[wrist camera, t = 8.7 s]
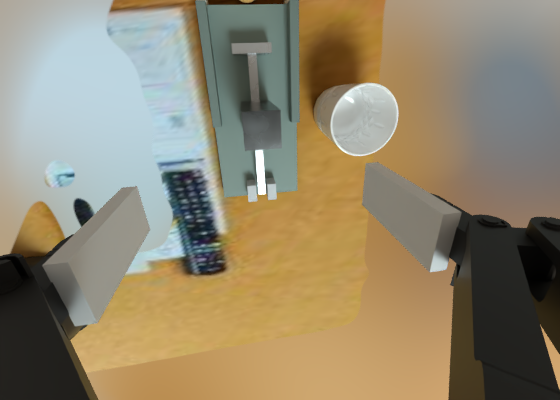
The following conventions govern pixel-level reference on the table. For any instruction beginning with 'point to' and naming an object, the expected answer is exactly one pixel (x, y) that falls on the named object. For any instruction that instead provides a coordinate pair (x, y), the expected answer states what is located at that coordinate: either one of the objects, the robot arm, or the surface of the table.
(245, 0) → the ball
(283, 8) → the grey-green piece
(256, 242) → the table surface
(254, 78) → the grey t-handle tool
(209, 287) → the table surface
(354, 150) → the white cup
